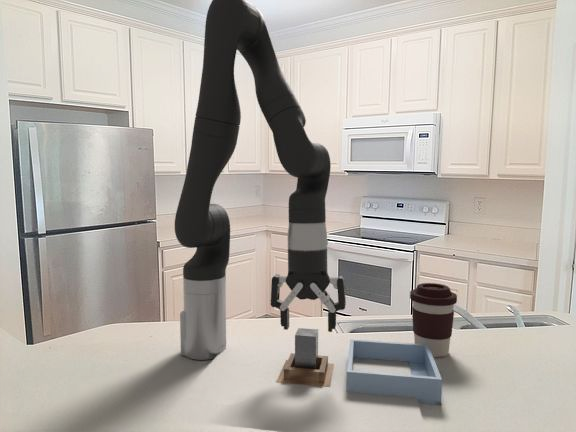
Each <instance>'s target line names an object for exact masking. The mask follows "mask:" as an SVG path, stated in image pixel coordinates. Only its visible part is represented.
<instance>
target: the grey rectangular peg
mask: <svg viewBox="0 0 576 432" xmlns="http://www.w3.org/2000/svg"><path fill="white" fill-rule="evenodd" d="M294 354H295V368H304V369H316V370H318V355H319V329H315V328H301V327H300V328H299V327H298V328H297V330H296V332H295V334H294Z"/></svg>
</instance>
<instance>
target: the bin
mask: <svg viewBox="0 0 576 432" xmlns="http://www.w3.org/2000/svg"><path fill="white" fill-rule="evenodd" d="M347 358H348V359H347V366H346V367H347V369H346V392H351V393H354V392H355V393H361V394H372V395H373V394H375V395H384V396H385V395H386V396H393V397H394V396H396V397H407V398H415V399H417V403H418V404H424V405H433V406H435V405H437V406H442V396H443V395H442V392H443V378H442V375H441V374H440V371H439V368H438V366H437V364H436V361H435V357H433V356H432V353H431V351H430V348H429V346H428V345H427V344H415V343H413V342H412V343H410V342H397V341H395V342H393V341H381V340H368V339H367V340H365V339H351V338H350V339H349V347H348V357H347ZM354 358H358V359H359V358H360V359H371V360H373V359H374V360H386V361H387V360H388V361H399V362H400V361H402V362H408V367H409V370H410V374H405V373H402V374H401V373H390V372H381V371H377V372H376V371H369V370H368V371H367V370H366V371H365V370H355V369H354Z"/></svg>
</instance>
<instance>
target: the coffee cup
mask: <svg viewBox="0 0 576 432" xmlns="http://www.w3.org/2000/svg"><path fill="white" fill-rule="evenodd" d="M409 299H410V300H411V301H412V307H411V311H412V312H411V314H412V316H411V317H412V331H413V338H414V339H413V340H414V344H427V345H428V346H429V348H430V351H431V353H432V356H433V358H441V357H442V358H443V357H446V356H448V354H449V352H450V344H451V337H452V334H453V327H454V326H453V325H454V315H455V311H454V305H456V304H457V302H458V294H456V293H455V292H453V291H451V288H450V287H449V286H448V285H446V284H441V283H433V282H424V283H423V282H422V283H419V284H417V285H416V288H414V289H411V290H410V292H409Z"/></svg>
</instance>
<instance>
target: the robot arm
mask: <svg viewBox="0 0 576 432" xmlns="http://www.w3.org/2000/svg"><path fill="white" fill-rule="evenodd" d="M203 43H204V45H203V60H202V61H203V62H202V70H201V71H202V72H201V78H200V79H201V80H200V87H199V94H198V100H197V106H196V112H195V117H194V124H193V127H192V129H193V131H192V136H191V137H192V138H191V145H190V151H189V157H188V161H187V167H186V172H185V176H184V177H185V178H184V181H183V186H182V188H181V189H182V190H181V192H180V193H181V194H180V197H179V201H178V205H177V207H176V208H177V209H176V212H175V215H174V216H175V217H174V234H175V237H176V239H177V241H178V243H179V244H180V245H181V246H182V247H184V248H186V249H187V248H189V249H193V248H196V251H195V253H194V254H193V256H192V257H191V258H190V259H189V260H187V261H186V262H185V263H184V265H183V266H182V267H183V268H182V278H183V279H182V280H183V282H182V284H183V310H182V311H181V312H180V314H179V323H180V325H179V327H180V329H179V331H180V333H179V334H180V356H185V357H186V358H188V359H192V360H197V361H198V360H199V361H200V360H201V361H204V360H205V361H207V360H213V359H216V357H217V356H218V355H219V354H221V353H222V352H224V351H225V350H226V349H227V293H226V292H227V288H226V287H227V285H226V284H227V282H226V274H227V272H226V271H227V267H228V264H229V261H230V249H231V248H230V247H231V246H230V245H231V222H230V218H229V217H230V216H229V215H228V212H227V211H226V209H225V208H224V206H222V205H220V204H217V203H211V199H212V194H213V191H214V187H215V184H216V182H217V180H218V179H219V176H220V175H221V174H222V172H223V171H224V169H225V167H226V166H227V164H228V163H229V162H230V160H231V158H232V156H233V154H234V152H235V149H236V146H237V144H238V139H239V138H238V136H239V132H240V127H241V126H240V125H241V119H242V115H241V114H242V112H241V106H240V100H239V95H238V91H237V90H238V89H237V85H236V80H235V61H236V57H237V51H238V52H239V54H241V56H242V57H243V59H244V61H246V63H247V64H248V66H249V68H250V70H251V73H252V76H253V79H254V86H255V89H254V90H255V96H256V100H257V104H258V105H259V108H260V111H261V113H262V114H263V117H264V119H265V120H266V123H267V124H268V127H269V129H270V130H271V132H272V137H273V142H274V146H275V149H276V150H275V151H276V154H277V156H278V160H279V162H280V164H281V166H282V168H283V169H284V171H285V172H286V173H287V174H289V175H290V176H292V177H295V178H297V181H296V189H295V190H294V192H291V194H290V195H289V197H288V226H287V227H288V229H287V275H286V276H284V275H282V276H281V275H280V274H279V273H278V274H277V273H276V274H275V275H273V276H272V277H271V285H270V287H271V289H270V306H271V308H276V309H278V310H279V311H280V312H279V313H280V314H279V315H280V326H281V327H283V331H284V330H286V331H288V330H289V328H290V308H289V306H290V304H291V303H292V302H293V300H295V298H298V300H307V299H308V300H311V301H316V300H317V299H319V300H320V302H321V303H322V304H323V305H324V306H325V307H326V309H328V311H327V332H329V333H333V330H335V329H336V326H337V312H338V311H344V310H345V309H346V305H347V302H346V287H345V278H344V276H342V275H339V276H337V277H335V276H334V277H332V276H331V277H330V276H329V273H328V272H329V271H328V243H329V242H328V231H327V223H326V219H327V218H326V217H327V216H326V214H327V213H326V195H327V193H328V189H329V188H328V187H329V180H330V176H331V175H330V174H331V165H332V164H331V156H330V154H329V151H328V149H327V148H326V146H324V145H323V144H321V143H320V142H317V141H312V140H310V138H309V137H308V135H307V132H306V130H305V126H306V121H307V120H306V116H305V114H304V111H303V109H302V106H300V103H299V101H298V100H297V97H296V96H295V94H294V92H293V90H292V88H291V85H290V84H289V82H288V81H287V78H286V76H285V73H284V71H283V69H282V66H281V64H280V62H279V60H278V56H277V53H276V50H275V48H274V45H273V42H272V38H271V36H270V32H269V29H268V26H267V23H266V21H265V18H264V16H263V14H262V12H261V11H260V10H259V8H257V6H256V5H254V4H252V3H251V2H250V1H248V0H211V3H210V4H209V7H208V9H207V13H206V19H205V26H204V42H203ZM284 283H285V284H286V285H287V287H288V288H289V289H290V292H289V294H288V295H287V296H286V297H285V299H284V301H283V300H281V299H280V289H281V288H282V286H284ZM330 284H331V285H332V286H333V288H334V289H335V290H337V302H335V301H334V300H333V299H332V297H331V295H330V293H328V291H327V290H326V289H328V287H329V286H330Z"/></svg>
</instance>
